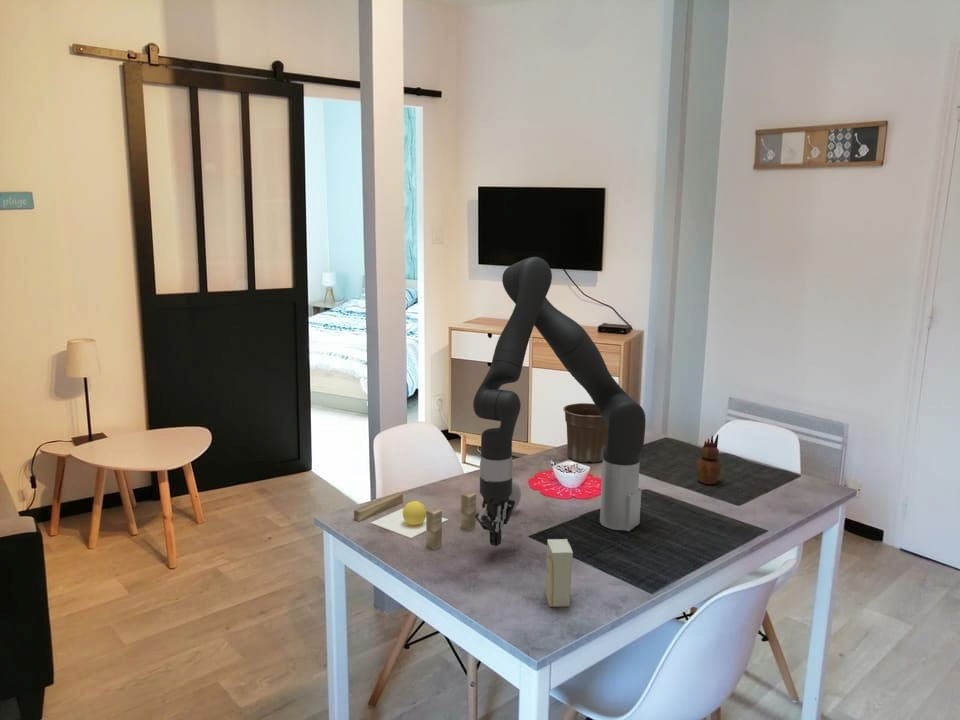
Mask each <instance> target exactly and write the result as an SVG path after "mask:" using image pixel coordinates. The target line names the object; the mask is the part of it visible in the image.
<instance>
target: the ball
mask: <svg viewBox="0 0 960 720" xmlns="http://www.w3.org/2000/svg"><path fill="white" fill-rule="evenodd" d="M403 508H404V509H403V518H404V520H405V521H406V522H407V523H408V524H410V525H419V524H421V523H422V522H423V521H424V520H425V518H426V511H427V509H426V506H425V505H424V504H423V503H422V502H420V501H418V500H417V501H416V500H414V501H413V500H412V501H409V502H408V503H406V504H405V505H404V507H403Z"/></svg>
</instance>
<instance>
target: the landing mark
mask: <svg viewBox="0 0 960 720" xmlns="http://www.w3.org/2000/svg"><path fill="white" fill-rule="evenodd" d="M403 509H404V507H403V508H401V509H398V510H396V511H393V512H391V513H389V514H387V515H385V516H382V517H380V518H378V519H376V520H373V521H371V522H370V525H374V526H377V527H380V528H382V529H385V530H387V531H390V532H392V533H394V534H398V535H400V536H403V537H405V538H409V539H413V538H415V537H417V536H419V535H421V534H423V533H426V518H425V520H424V521H423V522H422V523H421V524H419V525H410V524H408V523H407V522H406V521H405V520H404V518H403ZM447 521H449V519H448V518H446V517H443V516H442V524H443V523H445V522H447Z"/></svg>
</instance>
